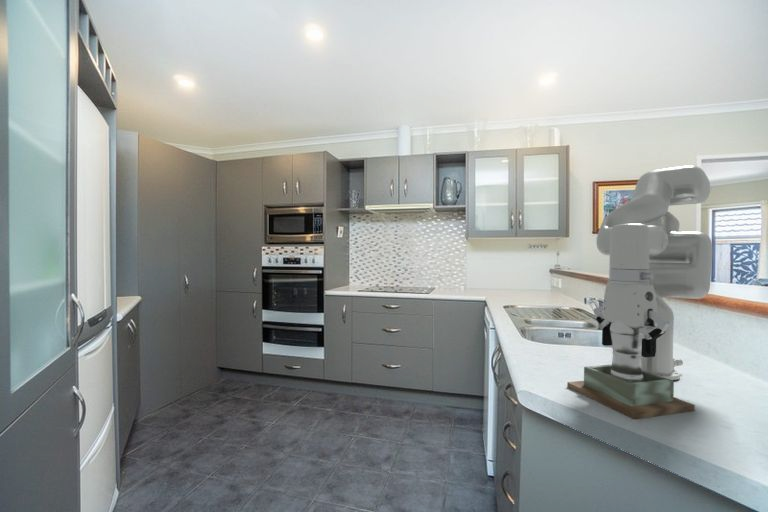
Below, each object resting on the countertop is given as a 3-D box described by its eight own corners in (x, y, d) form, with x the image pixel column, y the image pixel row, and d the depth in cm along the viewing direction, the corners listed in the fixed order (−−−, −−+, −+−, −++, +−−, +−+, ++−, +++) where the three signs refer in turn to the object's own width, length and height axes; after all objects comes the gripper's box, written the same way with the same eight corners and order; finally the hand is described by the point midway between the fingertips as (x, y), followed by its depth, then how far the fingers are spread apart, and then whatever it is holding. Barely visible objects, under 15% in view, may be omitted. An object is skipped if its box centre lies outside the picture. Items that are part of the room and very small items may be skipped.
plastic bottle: (650, 399, 75) (651, 308, 75) (616, 396, 76) (617, 307, 76) (635, 388, 81) (636, 305, 81) (604, 385, 82) (605, 304, 83)
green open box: (620, 381, 89) (620, 360, 89) (694, 410, 72) (695, 384, 72) (567, 387, 84) (567, 364, 84) (634, 419, 68) (634, 390, 68)
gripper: (681, 279, 71) (680, 361, 71) (607, 275, 88) (606, 340, 88) (655, 279, 69) (653, 363, 69) (584, 274, 86) (583, 342, 86)
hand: (627, 350), depth 78 cm, fingers open, 9 cm apart
